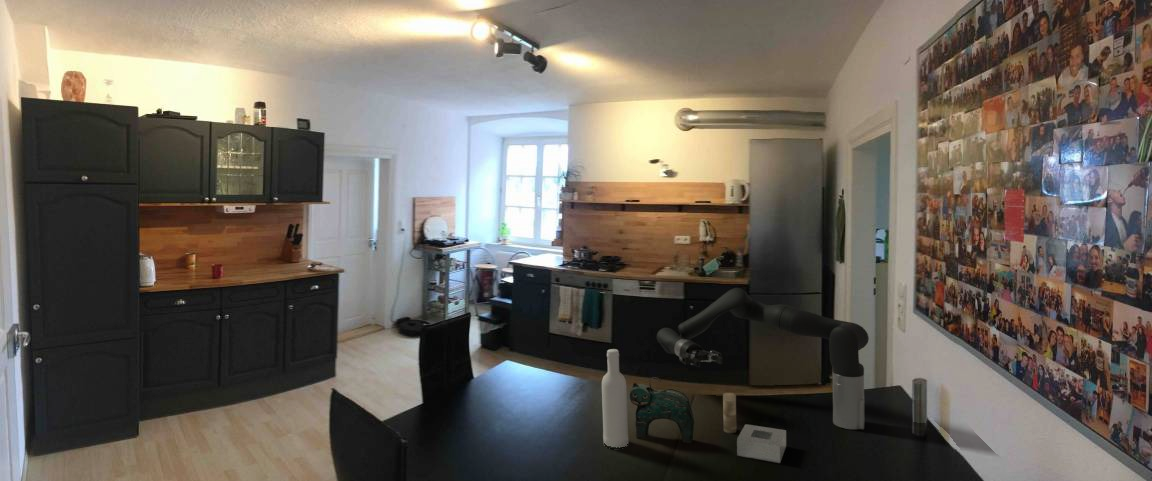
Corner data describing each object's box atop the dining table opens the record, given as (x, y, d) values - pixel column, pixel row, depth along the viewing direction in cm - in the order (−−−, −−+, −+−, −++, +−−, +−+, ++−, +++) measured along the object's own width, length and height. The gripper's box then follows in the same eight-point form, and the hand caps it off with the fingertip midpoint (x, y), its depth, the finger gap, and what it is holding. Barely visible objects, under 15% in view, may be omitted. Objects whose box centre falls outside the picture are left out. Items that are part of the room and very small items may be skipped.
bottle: (611, 451, 170) (608, 355, 168) (598, 442, 177) (595, 349, 175) (633, 445, 174) (630, 351, 172) (620, 436, 181) (617, 345, 179)
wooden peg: (737, 429, 183) (736, 393, 183) (734, 434, 180) (734, 397, 179) (725, 427, 185) (724, 392, 184) (722, 432, 182) (721, 395, 181)
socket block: (786, 446, 170) (785, 430, 169) (780, 463, 159) (779, 446, 159) (745, 439, 175) (745, 424, 175) (737, 455, 165) (736, 439, 165)
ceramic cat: (630, 439, 179) (628, 377, 178) (635, 431, 185) (633, 371, 184) (692, 446, 172) (691, 382, 171) (695, 437, 178) (694, 376, 177)
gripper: (670, 342, 205) (692, 354, 190) (705, 339, 209) (728, 349, 194) (671, 362, 206) (692, 375, 190) (705, 358, 210) (729, 371, 194)
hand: (710, 362), depth 192 cm, fingers open, 8 cm apart
